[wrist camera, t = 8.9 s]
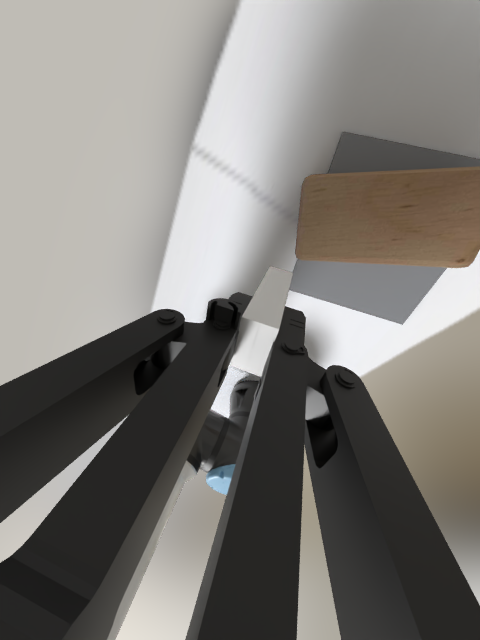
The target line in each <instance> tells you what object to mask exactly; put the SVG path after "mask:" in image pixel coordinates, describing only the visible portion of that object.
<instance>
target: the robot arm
mask: <svg viewBox="0 0 480 640" xmlns="http://www.w3.org/2000/svg"><path fill="white" fill-rule="evenodd" d="M292 275H293V273H292V272H289V271H285V270H282V269H278V268H275V267H272V266H270V267H269V269H268V271H267V272H266V274H265V276H264V278H263V280H262V281H261V283H260V285H259V287H258V289H257V290H256V292H255V294H254V296H253V297H252V296H249V295H245V294H242V293H239V292H238V293H235V294H233V295H231V297H230V298H229V299H221V298H217V299H213V300H211V301H209V302H208V309H207V316H206V320H205V321H204V323H191V322H185V318H184V316H183V314H181V313H180V312H178V311H176V310H171V309H161V310H157V311H154V312H152V313H150V314H148V315H146V316H144V317H142V318H140V319H138V320H136V321H134V322H132V323H130V324H128V325H125V326H123V327H121V328H119V329H117V330H115V331H113V332H111V333H109V334H107V335H105V336H103V337H101V338H99V339H97V340H95V341H92V342H90V343H88V344H86V345H84V346H82V347H80V348H78V349H76V350H74V351H72V352H70V353H67V354H65V355H63V356H61V357H59V358H57V359H55V360H53V361H51V362H49V363H47V364H45V365H43V366H41V367H38V368H37V369H34V370H32V371H30V372H28V373H26V374H24V375H22V376H20V377H18V378H16V379H14V380H12V381H9V382H8V383H5V384H3V385H1V386H0V523H1V522H2V521H3V520H5V519H6V518H7V517H8V516H9V515H10V514H12V513H13V512H14V511H15V510H16V509H18V508H19V507H20V506H21V505H22V504H23V503H25V502H26V501H27V500H28V499H29V498H31V497H32V496H33V495H34V494H35V493H37V492H38V491H39V490H40V489H41V488H42V487H44V486H45V485H46V484H47V483H48V482H50V481H51V480H52V479H53V478H54V477H55V476H57V475H58V474H59V473H60V472H61V471H63V470H64V469H65V468H66V467H67V466H68V465H69V464H71V463H72V462H73V461H74V460H76V459H77V458H78V457H79V456H80V455H81V454H83V453H84V452H85V451H86V450H87V449H89V448H90V447H91V446H92V445H93V444H94V443H96V442H97V441H98V440H99V439H100V438H102V437H103V436H104V435H105V434H106V433H107V432H109V431H110V430H111V429H112V428H113V427H114V426H116V425H117V424H118V423H119V422H120V421H122V420H123V419H124V418H125V417H126V416H128V417H127V418H126V419H125V420H124V422H123V423H122V424H121V425H120V427H119V428H118V429H117V430H116V432H115V433H114V434H113V435H112V436H111V438H110V439H109V440H108V441H107V443H106V444H105V445H104V446H103V448H102V449H101V450H100V451H99V453H98V454H97V455H96V456H95V457H94V459H93V460H92V461H91V462H90V464H89V465H88V466H87V468H86V469H85V470H84V471H83V472H82V474H81V475H80V476H79V477H78V478H77V480H76V481H75V482H74V483H73V485H72V486H71V487H70V488H69V490H68V491H67V492H66V493H65V495H64V496H63V497H62V498H61V500H60V501H59V502H58V503H57V504H56V506H55V507H54V508H53V509H52V511H51V512H50V513H49V514H48V516H47V517H46V518H45V519H44V521H43V522H42V523H41V524H40V526H39V527H38V528H37V529H36V531H35V532H34V533H33V534H32V535H31V537H30V538H29V539H28V540H27V541H26V542H25V543H24V544H23V546H21V547H20V548H19V549H18V550H17V551H16V552H15V553H14V554H13V555H11V556H10V557H9V558H7V559H6V560H4V561H3V562H1V563H0V640H115V639H116V637H117V635H118V632H119V630H120V628H121V626H122V623H123V621H124V619H125V617H126V614H127V612H128V610H129V608H130V605H131V603H132V601H133V599H134V596H135V594H136V592H137V590H138V587H139V585H140V583H141V581H142V578H143V576H144V574H145V572H146V569H147V567H148V565H149V562H150V560H151V558H152V556H153V554H154V551H155V549H156V547H157V545H158V542H159V540H160V538H161V536H162V533H163V531H164V528H165V526H166V524H167V522H168V520H169V517H170V515H171V513H172V511H173V508H174V506H175V504H176V502H177V499H178V497H179V495H180V493H181V490H182V488H183V486H184V484H185V482H187V481H189V480H191V479H193V478H195V477H196V475H197V472H198V470H199V469H202V470H204V471H205V472H207V475H206V482H207V484H208V485H209V486H211V487H212V489H214V490H215V491H218V492H220V493H223V494H226V495H227V496H226V499H225V503H224V507H223V510H222V514H221V517H220V521H219V524H218V528H217V531H216V535H215V538H214V542H213V545H212V549H211V552H210V556H209V559H208V563H207V566H206V570H205V573H204V577H203V580H202V584H201V587H200V591H199V594H198V598H197V601H196V605H195V608H194V612H193V616H192V619H191V622H190V626H189V629H188V632H187V636H186V639H185V640H296V638H297V613H298V588H299V586H298V585H299V563H300V539H301V538H300V537H301V514H302V513H301V512H302V489H303V464H304V444H305V449H306V454H307V460H308V465H309V470H310V476H311V481H312V486H313V492H314V497H315V503H316V508H317V513H318V519H319V524H320V529H321V534H322V540H323V545H324V550H325V556H326V561H327V566H328V571H329V577H330V582H331V587H332V593H333V598H334V603H335V609H336V614H337V619H338V624H339V630H340V635H341V640H480V605H479V603H478V601H477V599H476V597H475V596H474V594H473V592H472V590H471V588H470V586H469V584H468V582H467V580H466V578H465V576H464V575H463V573H462V571H461V569H460V567H459V565H458V563H457V561H456V559H455V557H454V555H453V553H452V552H451V550H450V548H449V546H448V544H447V542H446V540H445V538H444V537H443V534H442V533H441V531H440V529H439V527H438V525H437V523H436V521H435V519H434V517H433V516H432V513H431V511H430V510H429V508H428V506H427V504H426V502H425V500H424V498H423V496H422V494H421V492H420V490H419V489H418V487H417V485H416V483H415V481H414V479H413V477H412V475H411V473H410V471H409V469H408V468H407V466H406V464H405V462H404V460H403V458H402V456H401V454H400V452H399V450H398V448H397V447H396V445H395V443H394V441H393V439H392V437H391V435H390V433H389V431H388V429H387V427H386V426H385V424H384V422H383V420H382V418H381V416H380V414H379V412H378V410H377V408H376V406H375V404H374V403H373V401H372V399H371V397H370V395H369V393H368V391H367V389H366V387H365V385H364V383H363V382H362V381H361V379H360V378H359V377H358V376H357V375H356V374H355V373H354V372H352V371H351V370H349V369H347V368H345V367H342V366H339V365H332V366H330V367H328V368H327V370H326V369H324V368H322V367H321V366H319V365H317V364H316V363H314V362H313V361H312V360H311V359H310V358H309V357H308V352H307V349H306V348H305V346H304V337H305V321H306V318H305V316H304V314H303V312H301V311H298V310H295V309H292V308H289V307H286V306H285V304H286V300H287V295H288V291H289V287H290V283H291V279H292ZM230 362H231V363H230ZM229 364H230V366H232V367H235V368H238V369H241V370H243V371H246V372H249V373H252V374H254V375H257V376H260V377H261V379H260V382H256V381H244V382H241V383H239V384H237V385H236V386H235V387H234V388H233V391H232V393H231V396H230V416H229V419H228V418H226V417H224V416H222V415H221V414H219V413H217V412H215V411H213V410H211V406H212V404H213V402H214V400H215V398H216V396H217V393H218V391H219V389H220V387H221V385H222V383H223V381H224V378H225V376H226V374H227V370H228V366H229Z"/></svg>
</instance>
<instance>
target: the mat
mask: <svg viewBox="0 0 480 640" xmlns="http://www.w3.org/2000/svg"><path fill="white" fill-rule="evenodd" d="M478 166H480V159H476V158H471V157H466V156H461V155H456V154H451V153H446V152H441V151H436V150H431V149H426V148H421V147H416V146H411V145H406V144H402V143H397V142H392V141H387V140H382V139H377V138H372V137H367V136H362V135H357V134H352V133H347V132H343V133H342V136H341V138H340V141H339V144H338V147H337V150H336V153H335V155H334V158H333V161H332V164H331V167H330V169H329V172H328V174H335V173H355V172H376V171H396V170H417V169H437V168H458V167H478ZM446 269H447V268H446V267H426V266H406V265H386V264H366V263H346V262H326V261H306V260H300V259H297V262H296V265H295V268H294V271H293V275H292V279H291V283H290V287H289V290H291V291H295V292H298V293H301V294H304V295H308V296H311V297H314V298H317V299H321V300H324V301H327V302H330V303H334V304H337V305H340V306H343V307H347V308H350V309H353V310H357V311H360V312H363V313H366V314H370V315H373V316H376V317H379V318H383V319H386V320H389V321H392V322H396V323H399V324H402V325H403V323H404V322H405V321H406V319H407V318H408V317H409V316H410V314H411V313H412V312H413V311H414V309H415V308H416V307H417V305H418V304H419V303H420V302H421V300H422V299H423V298H424V297H425V295H426V294H427V293H428V291H429V290H430V289H431V288H432V286H433V285H434V284H435V283H436V281H437V280H438V279H439V277H440V276H441V275H442V274H443V272H444V271H445V270H446Z"/></svg>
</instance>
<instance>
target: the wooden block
mask: <svg viewBox="0 0 480 640" xmlns="http://www.w3.org/2000/svg"><path fill="white" fill-rule="evenodd" d="M479 250H480V166H478V167H458V168H437V169H417V170H396V171H376V172H355V173H335V174H315V175H310V176H308V177H306V178H305V180H304V182H303V184H302V190H301V200H300V209H299V219H298V229H297V239H296V249H295V254H296V257H297V258H298V259H300V260H306V261H326V262H346V263H366V264H386V265H406V266H426V267H446V268H462V267H468V266H469V265H470V264H471V263H472V262H473V261H474V259H475V257H476V255H477V254H478V252H479Z"/></svg>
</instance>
